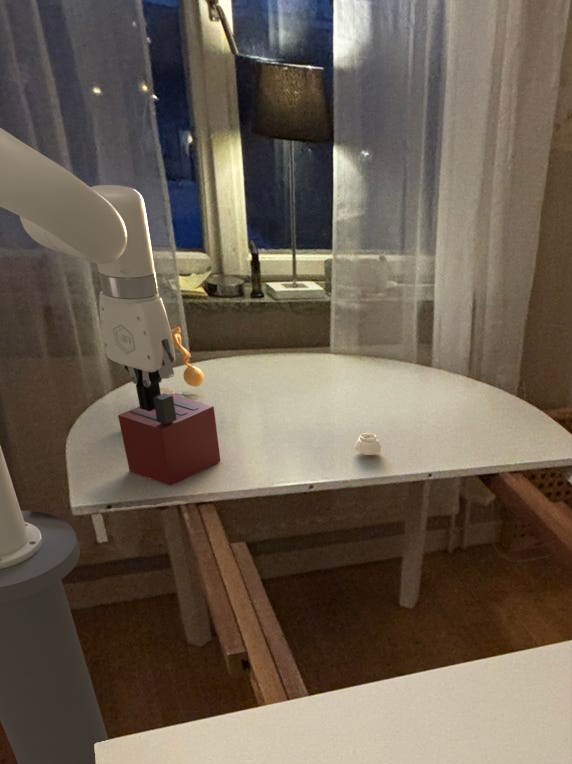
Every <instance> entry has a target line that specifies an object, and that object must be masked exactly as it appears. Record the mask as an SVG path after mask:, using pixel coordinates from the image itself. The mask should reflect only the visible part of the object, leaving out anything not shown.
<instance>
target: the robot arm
mask: <svg viewBox="0 0 572 764" xmlns="http://www.w3.org/2000/svg"><path fill="white" fill-rule="evenodd" d="M0 208H2V209H3V210H4V209H5V210H6V211H9V212H11V213H12V214H15V215H17V216H19V220H20V224H21V225H22V227H23V229H24V231H25V232H26V234H27V235H28V236H29V237H30V238H31V239H32V240H34V241H35V242H36V243H37V244H39V245H41V246H42V247H45V248H47V249H49V250H51V251H55V252H58V253H61V254H63V255H64V254H65V255H68V256H72V257H75V258H77V259H80V260H84V261H86V262H90V263H93V264H96V267H97V271H98V272H97V277H98V278H99V281H100V286H101V291H99V297H98V310H99V322H100V328H101V335H102V343H103V348H104V352H105V355H106V357H107V358H108V359H109V360H111V361H112V362H115V364H117V365H118V366H120V367H123V368H124V369H125V370H126V371H127V373H128V374H129V376H130V380H131V382H132V383H133V384H135V388H136V393H137V399H138V405H139V406H140V408H141V409H143V410H146V411H152V410H154V409H155V406H154V400H153V397H156V396H158V395H161V392H160V388H161V387H160V383H162V381H163V379H165V380H167V379H170V378H172V377H175V371H174V368H173V365H174V364H175V363H176V353H175V346H174V344H173V339H172V334H171V330H172V329H171V326H170V322H169V318H168V315H167V311H166V307H165V305H164V302H163V299H162V297H161V296H160V294H159V287H158V286H159V285H158V280H157V279H158V278H157V274H156V268H155V262H154V256H153V255H154V254H153V250H152V242H151V236H150V231H149V224H148V223H149V222H148V217H147V211H146V206H145V200H144V198H143V196H142V194H141V192H139V191H138V190H136V189H135V188H133V187H130V186H124V185H118V184H117V185H116V184H98V185H93V186H90V185H88V184H87V183H85V182H84V181H82V180H81V179H80V178H78V176H77V175H74V174H73V172H70V171H69V170H67V169H66V168H65V167H63V166H62V165H60V164H59V163H57V162H56V161H54V160H52V159H51V158H49V157H48V156H45V155H44V154H42V153H41V152H39V151H38V150H36V149H34V148H32V147H31V146H29V145H27V144H26V143H24V142H23V141H21V140H20V139H18V138H17V137H16V136H14V135H13V134H11V133H10V132H8V131H6V130H5V129H3V128H1V127H0ZM42 542H43V540H42V536H41V533H40V531H39V529H38V528H37V527H35V526H34V525H32V524H30V523H27V522H24V519H23V516H22V513H21V507H20V503H19V500H18V497H17V494H16V491H15V487H14V484H13V481H12V477H11V474H10V471H9V468H8V465H7V461H6V459H5V456H4V453H3V449H2V445H0V569H3V568H7V567H10V566H14V565H16V564H19V563H21V562H23V561H25V560H27V559H29V558H30V557H32V556H33V555H34V554H35V553H36V552H37V551H38V550H39V549H40V547H41V546H42Z"/></svg>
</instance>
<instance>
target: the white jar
mask: <svg viewBox="0 0 572 764" xmlns="http://www.w3.org/2000/svg"><path fill="white" fill-rule="evenodd" d="M353 448H354V450H355V452H357V453H359V454H361V455H364V456H365V455H367V456H371V455H377V454H379V453H381V452H382V449H383V447H382V445H381V443H380V441H379V439H378V436H377V435H376V434H374V433H372V432H364V433H360V434H359V437H358V438H357V440H356V442H355V444H354V447H353Z"/></svg>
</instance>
